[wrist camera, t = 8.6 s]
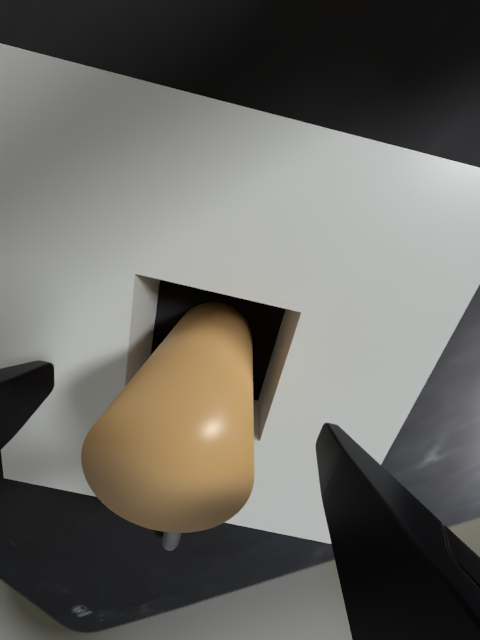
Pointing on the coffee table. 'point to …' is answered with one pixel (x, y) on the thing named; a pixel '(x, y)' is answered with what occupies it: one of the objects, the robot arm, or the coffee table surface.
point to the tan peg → (181, 429)
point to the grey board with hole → (221, 265)
